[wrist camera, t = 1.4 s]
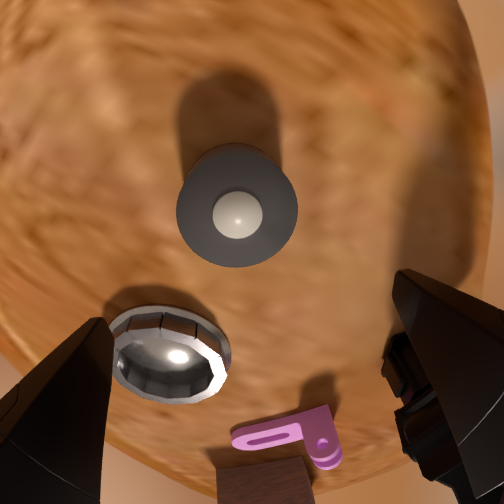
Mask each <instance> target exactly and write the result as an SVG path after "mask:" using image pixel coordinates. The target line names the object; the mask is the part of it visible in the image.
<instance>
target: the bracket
mask: <svg viewBox="0 0 504 504" xmlns="http://www.w3.org/2000/svg"><path fill="white" fill-rule="evenodd" d="M231 439H232V445H233V447H235V448H237V449H241V450H260V449H264V448H269V447H273V446H278V445H282V444H286V443H290V442H294V441H298V440H301V439H304V444H305V448H306V451H307V453H308V454H309V456H310V457H311V458H312V460H313V462H314V464H315V465H316V466H317V467H318V468H320V469H323V470H329V469H333V468H335V467H336V466H338V465H339V464H340V462H341V461H342V457H343V453H342V450H341V446H340V442H339V439H338V435H337V432H336V429H335V426H334V422H333V419H332V416H331V413H330V409H329V406H328V404H326V405H323V406H320V407H317V408H314V409H311V410H307V411H304V412H301V413H297V414H294V415H290V416H287V417H283V418H279V419H275V420H271V421H267V422H263V423H259V424H254V425H250V426H245V427H242V428H239V429H237V430H235V431H234V432H233V433H232V434H231Z"/></svg>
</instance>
